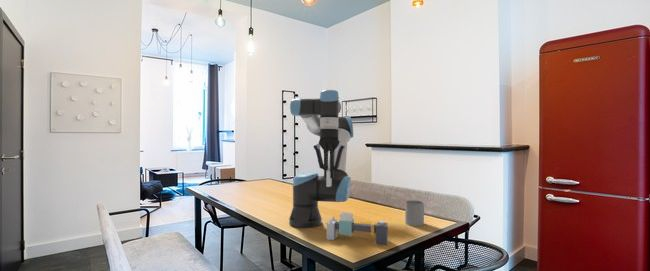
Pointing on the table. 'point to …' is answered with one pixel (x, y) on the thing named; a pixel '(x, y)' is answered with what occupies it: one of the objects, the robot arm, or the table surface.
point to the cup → (414, 213)
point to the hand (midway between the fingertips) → (329, 186)
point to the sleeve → (346, 223)
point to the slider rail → (361, 230)
